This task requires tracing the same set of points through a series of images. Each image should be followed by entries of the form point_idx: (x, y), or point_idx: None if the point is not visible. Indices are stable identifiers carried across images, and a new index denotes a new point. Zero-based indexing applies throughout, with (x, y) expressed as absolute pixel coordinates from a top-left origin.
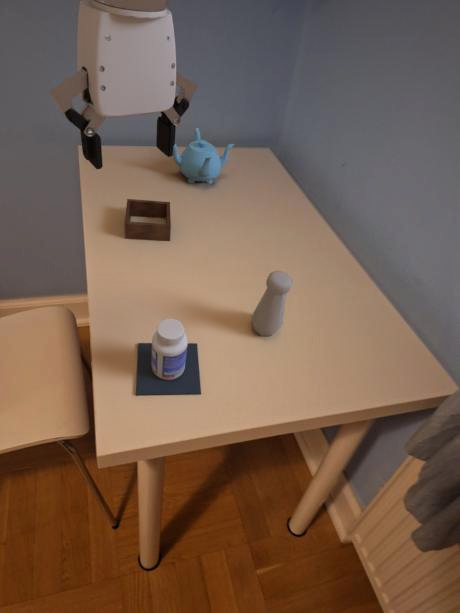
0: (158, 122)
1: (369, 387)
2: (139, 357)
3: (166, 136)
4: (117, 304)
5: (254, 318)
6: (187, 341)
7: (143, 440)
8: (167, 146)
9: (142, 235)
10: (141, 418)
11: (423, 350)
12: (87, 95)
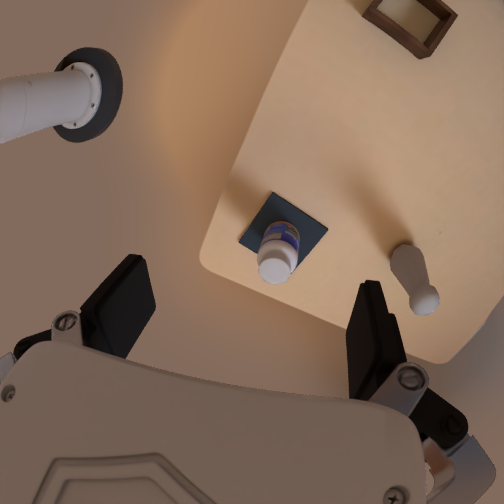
0: (371, 352)
1: (406, 340)
2: (263, 209)
3: (352, 369)
4: (283, 123)
5: (395, 259)
6: (291, 272)
7: (225, 275)
8: (347, 353)
9: (387, 30)
10: (232, 260)
11: (465, 340)
12: (43, 351)
